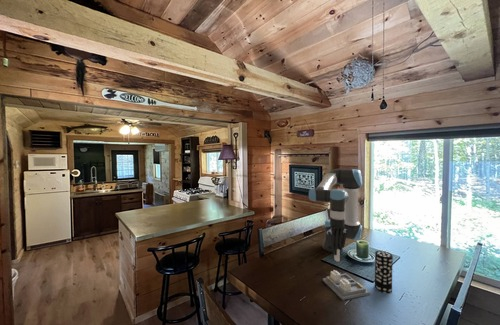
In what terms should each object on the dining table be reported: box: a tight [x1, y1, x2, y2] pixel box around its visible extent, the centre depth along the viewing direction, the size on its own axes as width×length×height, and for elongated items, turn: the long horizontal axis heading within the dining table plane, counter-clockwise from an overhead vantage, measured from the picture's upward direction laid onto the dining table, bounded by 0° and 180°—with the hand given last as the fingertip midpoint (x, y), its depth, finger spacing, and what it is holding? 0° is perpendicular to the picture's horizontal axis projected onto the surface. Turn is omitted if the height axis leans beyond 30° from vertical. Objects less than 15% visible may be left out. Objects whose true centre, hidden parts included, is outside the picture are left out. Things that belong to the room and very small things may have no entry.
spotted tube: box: [374, 250, 394, 294], centre depth 122 cm, size 8×8×20 cm
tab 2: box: [340, 279, 351, 292], centre depth 119 cm, size 4×4×6 cm
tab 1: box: [330, 269, 342, 282], centre depth 128 cm, size 4×4×6 cm
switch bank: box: [322, 273, 371, 301], centre depth 124 cm, size 17×18×3 cm
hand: (336, 260), depth 120 cm, fingers closed
